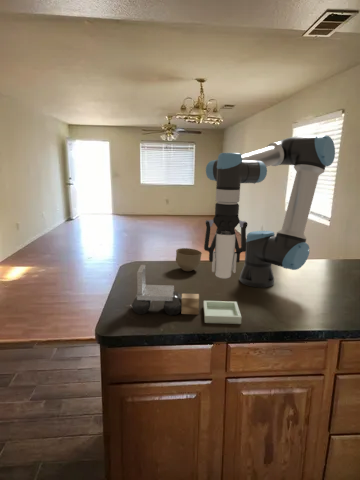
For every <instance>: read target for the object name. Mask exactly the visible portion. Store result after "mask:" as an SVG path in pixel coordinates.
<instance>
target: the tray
mask: <svg viewBox="0 0 360 480" xmlns="http://www.w3.org/2000/svg"><path fill="white" fill-rule="evenodd" d="M202 307H203V316H204V319H203V320H204V323H206V324H228V325H229V324H231V325H232V324H233V325H242V319H243V317H242V314H241V311H240V308H239V305H238V301H229V300H228V301H226V300H225V301H222V300H203V306H202Z"/></svg>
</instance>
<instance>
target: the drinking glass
mask: <svg viewBox="0 0 360 480" xmlns="http://www.w3.org/2000/svg"><path fill="white" fill-rule="evenodd" d="M235 234H236V232H235ZM235 234H234V235H231V232H228V231H224V232H221V234H217V235H216V232H215V233H214V236H215V235H216V246H215V249H214V251H215V272H214V273H215V276H216V277H217V278H218V279H229V278H231V276H232V273H233V270H232V267H233V258H234V252H236V249H235ZM236 235H237V234H236Z"/></svg>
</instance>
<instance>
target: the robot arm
mask: <svg viewBox="0 0 360 480" xmlns="http://www.w3.org/2000/svg"><path fill="white" fill-rule="evenodd" d="M335 157H336V147H335V143H334V140H333V138H332V137H331V136H329V135H327V134H316V135H315V134H314V135H302V136H301V135H299V136H298V135H297V136H291V137H287V138H283V139H281V140H277V141H274V142H270V143H269V144H267V146H265V147H262V148H258V149H255V150H252V151H248V152H245V153H240V152H221V153H219V154H218V156H217V159H215V160H214V159H213V160H210V161H208V163H207V164H206V167H205V175H206V177H207V178H208V179H209V180H210V181H215V182H216V184H215V185H216V187H215V202H216V203H214V205H215V206H214V209H215V211H214V217H213V219H209V220H208V219H205V223H204V224H205V225H206V230H205V238H204V244H203V245H204V246H203V249H204V251H206V252H208V253H209V254H208V261H209V262H211V272H212V273H215V272H216V265H215V246H216V235H217V234H221V232H224V231H228V232H231V235H234V234H235V233H236V230H235V229H236V227H238V225H239V228H240V245H239V241H238V238H237V234H235V251H234V258H233V264H232V273H234V274H235V273H236V272H237V270H236V269H237V263H240V258H241V253H243V252H244V265H243V267H242V270H241V271H240V273H239V281H240V283H241V284H243V285H246V286H248V287H253V288H270V287H272V286H273V285H274V284H275V276H274V272H273V269H272V265H274V266H277V267H281V268H283V269H286V270H287V269H288V270H292V271H297V270H299V269H300V268H302V267H303V266H304V265H305V263H306V261H307V260H308V258H309V256H310V246H309V243H307V237H306V236H305V230H306V226H307V222H308V219H309V215H310V211H311V206H312V203H313V199H314V196H315V193H316V188H317V185H318V181H319V177H320V176H321V175H323V174H324V173H325V171H326V167H329V166H332V164H333V163H334V160H335ZM270 166H271V167H277V166H293V169H294V170H295V171H296V173H295V177H294V180H293V183H292V189H291V192H290V196H289V201H288V204H287V209H286V212H285V214H284V215H285V217H284V220H283V223H282V228H281V229H280V230H278V231H277V232H276V236H275V232H274V231H272V230H257V231H250V232H248V233H247V228H248V222H247V221H246V220H242V219H241V220H240V218H239V212H240V204H239V202H240V196H241V195H240V194H241V184H254V185H255V184H259V183H261V182H263V181H264V180H265V179H266V177H267V174H268V173H267V172H268V168H267V167H270ZM213 225H215V226H216V230H215V231H216V232H215V233H216V235H215V234H214V236H213V238H212V241H211V243H210V235H211V228H212V227H213ZM209 243H210V246H209ZM240 246H241V247H240Z"/></svg>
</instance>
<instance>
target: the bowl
mask: <svg viewBox="0 0 360 480" xmlns="http://www.w3.org/2000/svg"><path fill="white" fill-rule="evenodd" d="M175 251H176V253H175V254H176V255H175V263H176V264H177V266H178V267H179V268H180V269H181V270H182V271H183V272H192V271H193V270H195V269H197V268H198V267H199V265H200V264H201V259H202V254H203V253H202V251H201V250H198V249H195V248H187V247H186V248H184V247H183V248H177V249H176V250H175Z"/></svg>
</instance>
